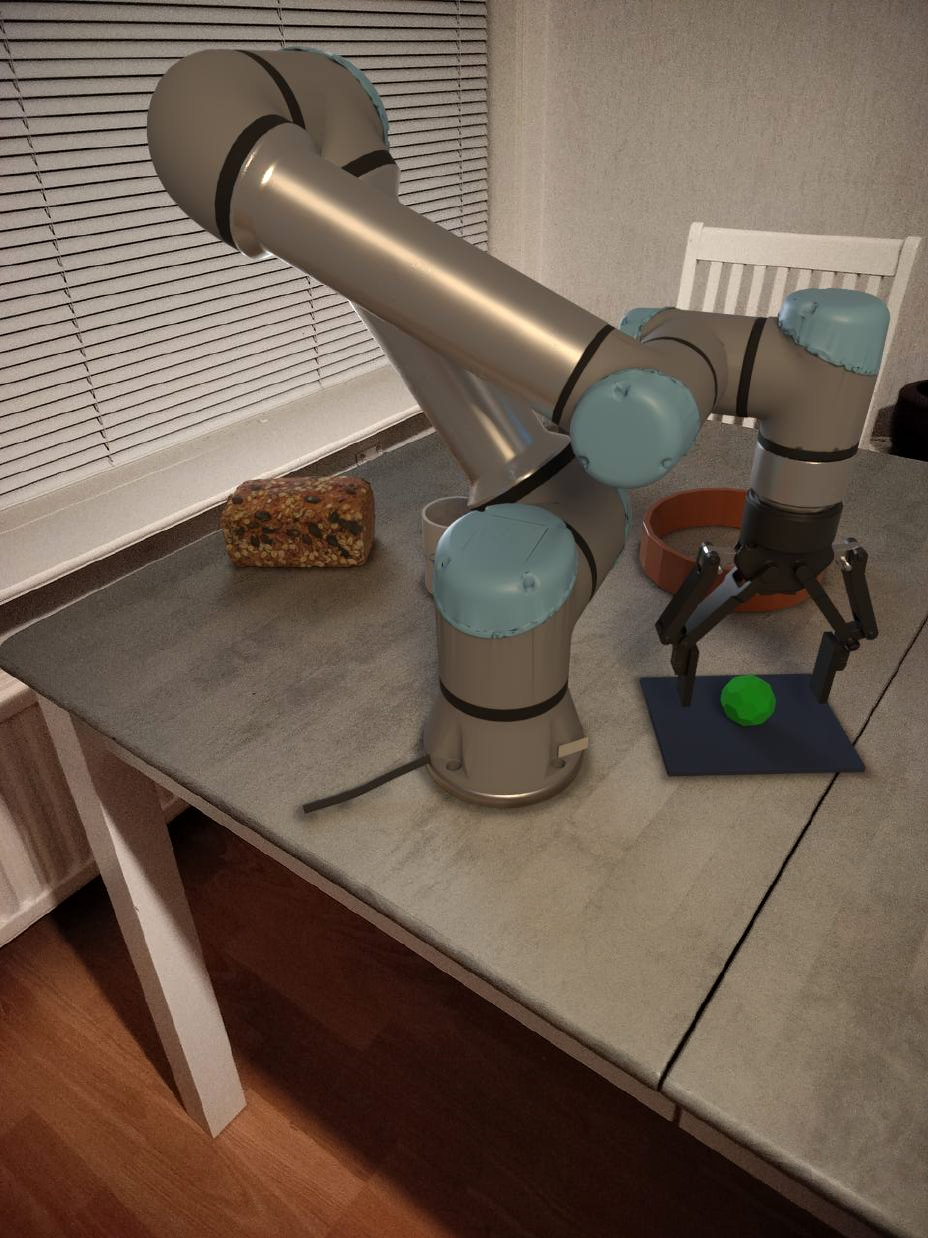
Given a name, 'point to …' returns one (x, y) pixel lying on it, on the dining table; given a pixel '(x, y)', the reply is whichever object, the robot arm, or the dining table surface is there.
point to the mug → (439, 527)
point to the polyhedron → (748, 700)
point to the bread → (300, 522)
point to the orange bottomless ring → (689, 512)
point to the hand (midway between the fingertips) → (750, 696)
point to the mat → (747, 731)
